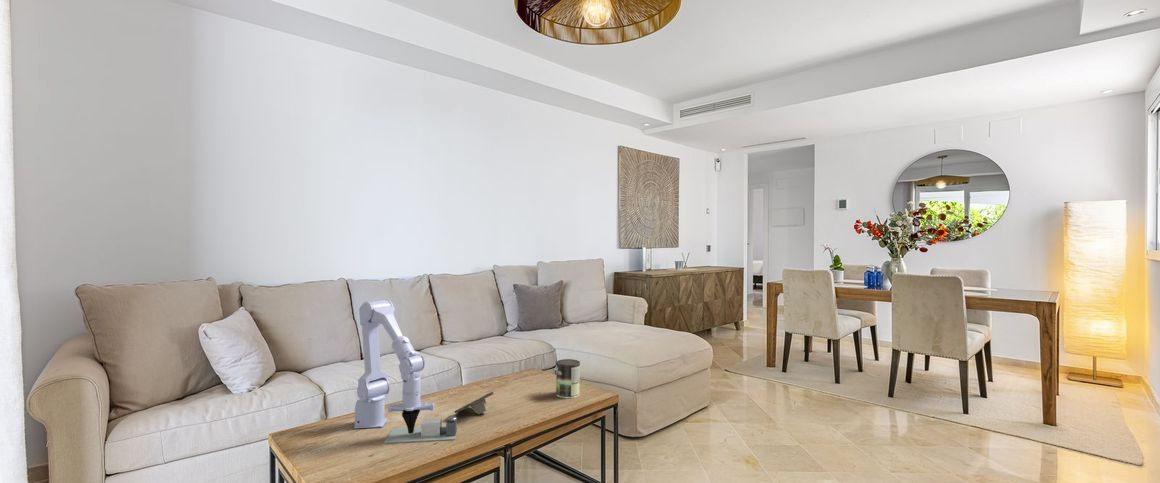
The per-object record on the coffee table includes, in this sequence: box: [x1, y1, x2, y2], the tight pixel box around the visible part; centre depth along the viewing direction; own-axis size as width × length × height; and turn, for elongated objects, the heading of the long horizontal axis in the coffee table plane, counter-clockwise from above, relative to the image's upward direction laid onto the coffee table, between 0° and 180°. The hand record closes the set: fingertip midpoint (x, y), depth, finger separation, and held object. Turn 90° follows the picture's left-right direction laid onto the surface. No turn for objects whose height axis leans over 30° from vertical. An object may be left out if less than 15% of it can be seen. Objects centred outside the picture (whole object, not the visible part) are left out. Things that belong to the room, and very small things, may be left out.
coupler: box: [440, 415, 458, 436], centre depth 163 cm, size 10×5×5 cm, turn 99°
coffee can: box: [555, 358, 581, 400], centre depth 207 cm, size 10×10×14 cm
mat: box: [384, 424, 459, 445], centre depth 163 cm, size 22×12×1 cm, turn 99°
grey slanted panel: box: [447, 390, 494, 416], centre depth 183 cm, size 16×9×15 cm
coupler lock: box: [420, 417, 443, 437], centre depth 162 cm, size 6×5×4 cm
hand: (411, 432), depth 161 cm, fingers closed
